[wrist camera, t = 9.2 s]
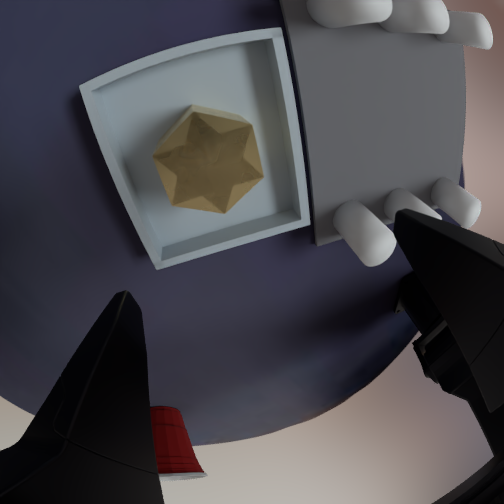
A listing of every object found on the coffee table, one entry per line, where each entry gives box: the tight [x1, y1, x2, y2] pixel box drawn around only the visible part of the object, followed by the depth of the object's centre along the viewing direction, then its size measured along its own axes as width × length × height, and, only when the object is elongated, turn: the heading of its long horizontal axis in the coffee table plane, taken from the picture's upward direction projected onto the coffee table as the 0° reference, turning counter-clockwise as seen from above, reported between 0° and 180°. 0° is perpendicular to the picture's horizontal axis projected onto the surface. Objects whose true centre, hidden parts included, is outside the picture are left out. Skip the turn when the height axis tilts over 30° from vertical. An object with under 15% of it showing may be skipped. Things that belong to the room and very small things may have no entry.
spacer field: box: [279, 0, 493, 266], centre depth 15 cm, size 20×17×5 cm
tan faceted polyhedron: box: [152, 104, 264, 214], centre depth 14 cm, size 6×5×4 cm
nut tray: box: [79, 27, 310, 270], centre depth 15 cm, size 13×11×2 cm
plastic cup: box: [150, 406, 207, 481], centre depth 32 cm, size 11×11×12 cm
